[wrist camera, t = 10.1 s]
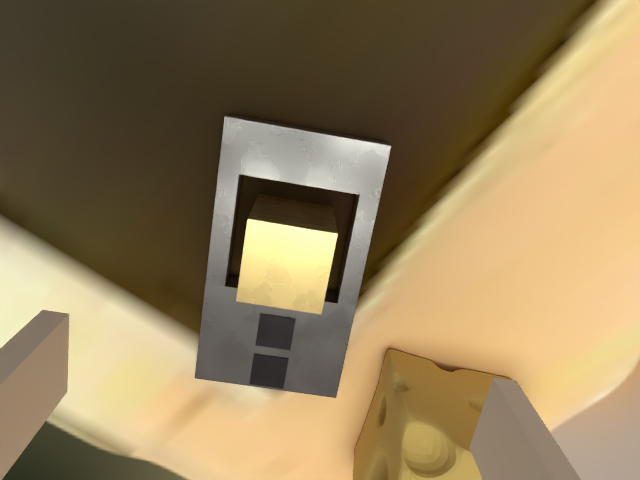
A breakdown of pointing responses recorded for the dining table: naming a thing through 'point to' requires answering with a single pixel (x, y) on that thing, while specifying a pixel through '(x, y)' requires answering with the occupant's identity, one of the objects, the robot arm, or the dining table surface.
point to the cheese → (421, 422)
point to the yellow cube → (287, 254)
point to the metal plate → (277, 323)
